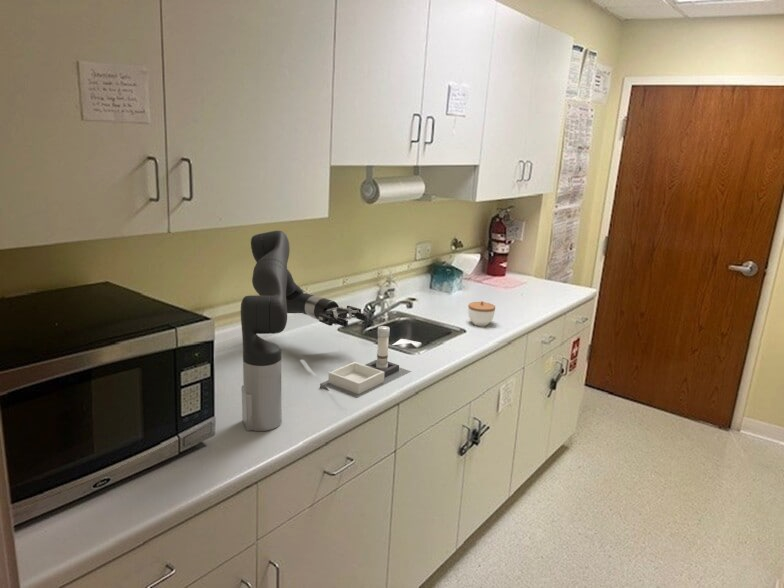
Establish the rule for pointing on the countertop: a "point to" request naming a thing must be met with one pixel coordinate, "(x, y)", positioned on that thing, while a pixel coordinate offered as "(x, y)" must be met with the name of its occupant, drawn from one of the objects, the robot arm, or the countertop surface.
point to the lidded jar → (481, 313)
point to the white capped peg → (382, 347)
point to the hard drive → (404, 341)
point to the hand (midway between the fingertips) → (356, 320)
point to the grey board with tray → (362, 378)
